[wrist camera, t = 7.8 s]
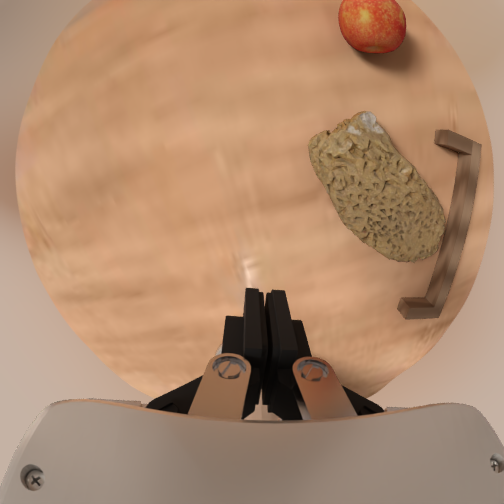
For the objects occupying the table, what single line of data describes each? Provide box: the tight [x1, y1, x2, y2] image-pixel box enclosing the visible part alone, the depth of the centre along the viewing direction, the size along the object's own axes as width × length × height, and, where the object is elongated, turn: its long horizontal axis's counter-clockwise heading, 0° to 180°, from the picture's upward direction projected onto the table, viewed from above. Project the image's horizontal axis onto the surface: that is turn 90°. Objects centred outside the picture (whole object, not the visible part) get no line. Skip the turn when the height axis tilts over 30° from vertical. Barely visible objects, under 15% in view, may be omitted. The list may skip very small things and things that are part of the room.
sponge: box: [308, 111, 446, 263], centre depth 29 cm, size 13×8×20 cm
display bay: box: [397, 130, 481, 320], centre depth 32 cm, size 27×7×3 cm, turn 175°
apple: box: [339, 0, 406, 53], centre depth 20 cm, size 8×8×8 cm
